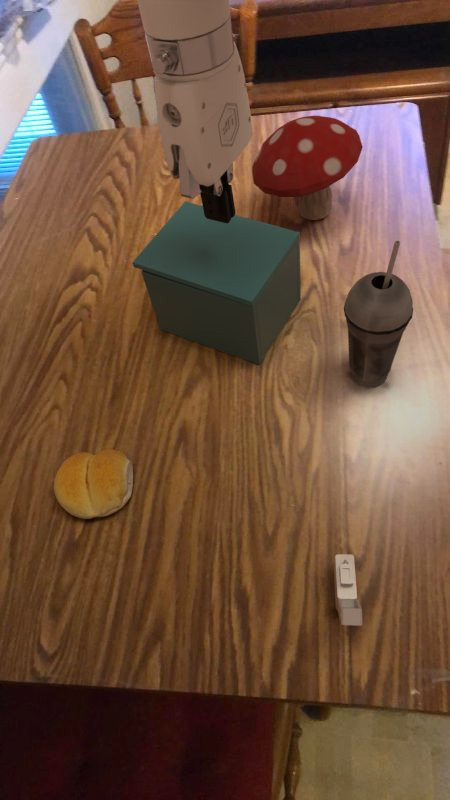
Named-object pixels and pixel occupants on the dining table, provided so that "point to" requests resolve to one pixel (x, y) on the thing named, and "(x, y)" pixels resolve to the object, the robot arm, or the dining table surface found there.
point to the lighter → (346, 590)
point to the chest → (228, 311)
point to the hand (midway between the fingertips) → (220, 216)
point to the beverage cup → (376, 323)
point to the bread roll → (94, 483)
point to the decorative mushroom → (307, 162)
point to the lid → (217, 253)
